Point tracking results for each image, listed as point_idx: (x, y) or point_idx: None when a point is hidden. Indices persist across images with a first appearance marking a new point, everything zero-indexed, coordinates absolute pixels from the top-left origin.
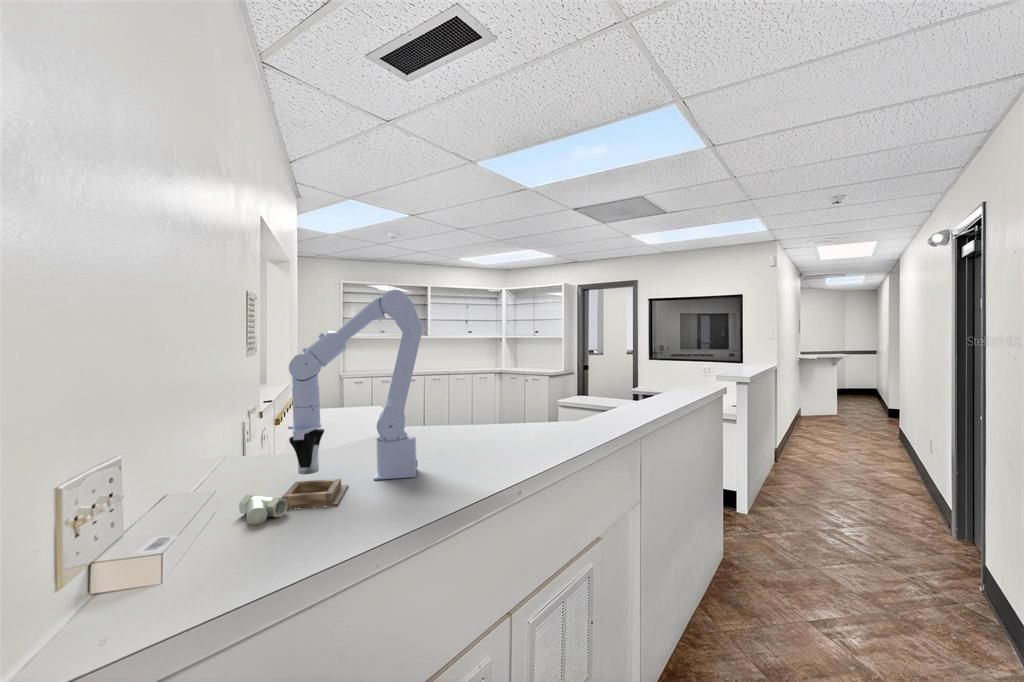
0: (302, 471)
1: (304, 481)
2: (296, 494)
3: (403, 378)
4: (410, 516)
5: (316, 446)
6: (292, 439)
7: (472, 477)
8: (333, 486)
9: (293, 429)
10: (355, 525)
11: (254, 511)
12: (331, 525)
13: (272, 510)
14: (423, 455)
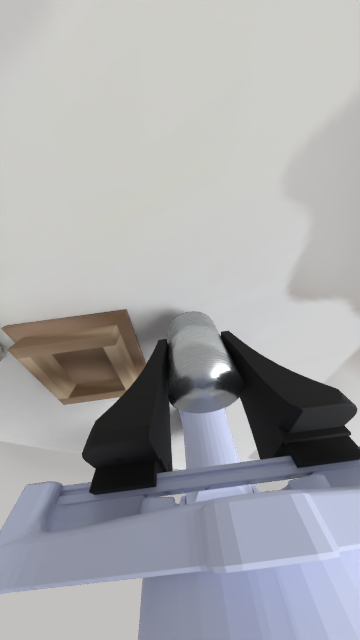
0: (168, 332)
1: (115, 351)
2: (33, 367)
3: None
4: (65, 442)
5: (195, 411)
6: (84, 455)
7: (178, 452)
8: (95, 397)
9: (104, 556)
10: (22, 420)
11: None
12: (7, 406)
13: None
14: None
